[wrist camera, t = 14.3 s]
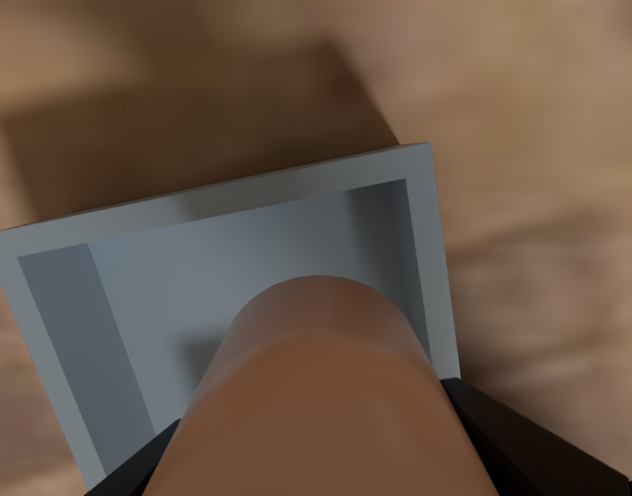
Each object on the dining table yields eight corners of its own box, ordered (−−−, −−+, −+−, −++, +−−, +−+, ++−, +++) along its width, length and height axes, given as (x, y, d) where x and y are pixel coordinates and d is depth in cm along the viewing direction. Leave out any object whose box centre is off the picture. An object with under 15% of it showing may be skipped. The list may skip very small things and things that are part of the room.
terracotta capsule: (431, 439, 10) (672, 1067, 3) (244, 466, 10) (94, 1098, 3) (408, 258, 9) (723, 641, 2) (197, 294, 9) (-183, 741, 2)
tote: (450, 494, 22) (487, 591, 17) (186, 534, 23) (150, 636, 18) (400, 144, 17) (431, 141, 12) (69, 213, 18) (-21, 235, 13)
